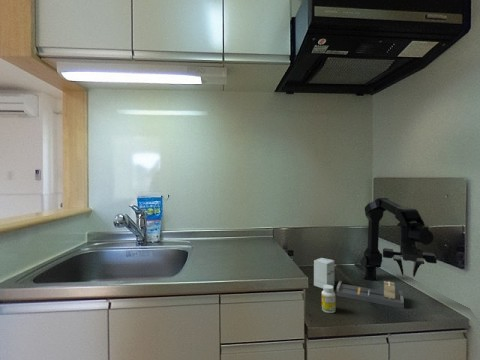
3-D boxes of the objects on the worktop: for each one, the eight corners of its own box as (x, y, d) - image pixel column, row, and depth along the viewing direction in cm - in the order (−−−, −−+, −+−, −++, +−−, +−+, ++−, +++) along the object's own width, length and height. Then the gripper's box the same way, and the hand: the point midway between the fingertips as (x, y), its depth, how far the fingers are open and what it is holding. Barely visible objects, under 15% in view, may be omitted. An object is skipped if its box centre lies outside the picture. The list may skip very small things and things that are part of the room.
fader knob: (383, 292, 118) (383, 280, 118) (394, 294, 116) (394, 282, 116) (384, 297, 113) (384, 285, 113) (394, 298, 111) (394, 286, 111)
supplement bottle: (335, 314, 103) (334, 290, 103) (320, 312, 106) (320, 288, 105) (335, 308, 108) (335, 284, 108) (322, 305, 111) (322, 283, 110)
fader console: (339, 287, 129) (339, 280, 129) (401, 298, 116) (401, 290, 116) (336, 295, 120) (336, 288, 120) (403, 308, 108) (403, 299, 108)
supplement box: (327, 290, 126) (326, 263, 126) (313, 285, 131) (313, 260, 131) (335, 285, 131) (334, 260, 131) (321, 281, 136) (321, 257, 136)
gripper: (383, 240, 108) (383, 278, 108) (439, 245, 99) (439, 287, 100) (382, 235, 118) (382, 270, 118) (434, 239, 109) (434, 277, 109)
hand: (408, 275), depth 111 cm, fingers open, 4 cm apart
